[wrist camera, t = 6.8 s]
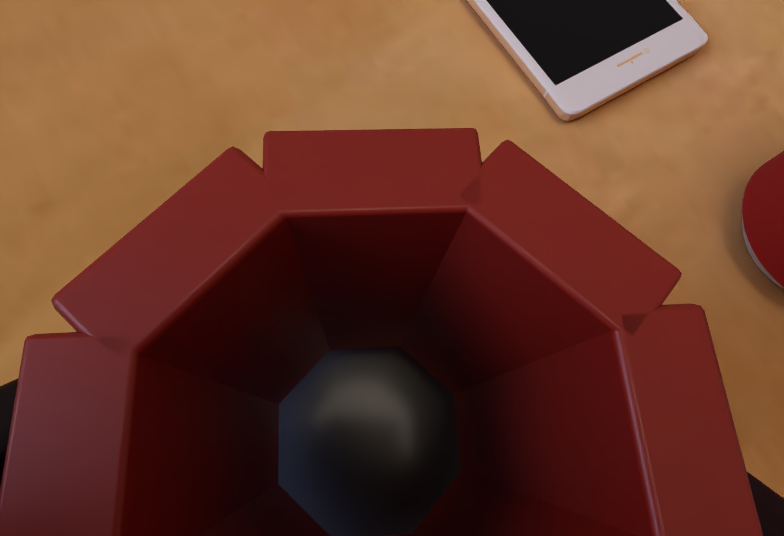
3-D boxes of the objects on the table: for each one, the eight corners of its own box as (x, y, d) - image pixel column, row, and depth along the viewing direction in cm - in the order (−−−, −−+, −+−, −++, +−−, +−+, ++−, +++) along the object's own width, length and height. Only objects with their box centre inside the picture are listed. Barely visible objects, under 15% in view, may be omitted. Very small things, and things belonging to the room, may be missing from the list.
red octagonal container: (232, 597, 11) (-95, 1032, 3) (241, 316, 13) (55, 132, 5) (512, 572, 12) (862, 886, 4) (480, 305, 14) (659, 122, 6)
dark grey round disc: (216, 610, 14) (189, 644, 12) (227, 303, 17) (207, 283, 15) (523, 581, 15) (553, 608, 13) (487, 291, 18) (506, 271, 15)
